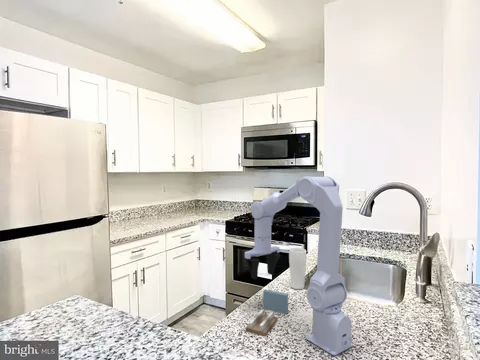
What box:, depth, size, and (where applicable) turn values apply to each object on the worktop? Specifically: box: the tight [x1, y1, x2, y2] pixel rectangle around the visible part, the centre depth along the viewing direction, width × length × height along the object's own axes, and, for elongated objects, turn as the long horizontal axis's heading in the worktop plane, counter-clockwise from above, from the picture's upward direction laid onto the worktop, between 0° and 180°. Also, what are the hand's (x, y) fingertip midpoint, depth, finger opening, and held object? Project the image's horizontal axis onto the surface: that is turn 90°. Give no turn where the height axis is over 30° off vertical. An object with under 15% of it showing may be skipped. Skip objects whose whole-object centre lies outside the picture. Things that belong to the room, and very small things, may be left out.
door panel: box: [262, 289, 289, 315], centre depth 95 cm, size 8×2×6 cm, turn 64°
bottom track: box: [245, 308, 278, 337], centre depth 85 cm, size 10×6×3 cm, turn 154°
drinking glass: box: [288, 247, 307, 290], centre depth 116 cm, size 7×7×15 cm
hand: (262, 276), depth 100 cm, fingers open, 7 cm apart
